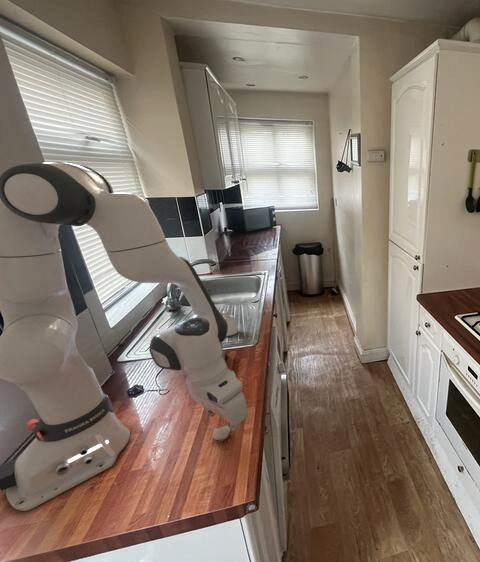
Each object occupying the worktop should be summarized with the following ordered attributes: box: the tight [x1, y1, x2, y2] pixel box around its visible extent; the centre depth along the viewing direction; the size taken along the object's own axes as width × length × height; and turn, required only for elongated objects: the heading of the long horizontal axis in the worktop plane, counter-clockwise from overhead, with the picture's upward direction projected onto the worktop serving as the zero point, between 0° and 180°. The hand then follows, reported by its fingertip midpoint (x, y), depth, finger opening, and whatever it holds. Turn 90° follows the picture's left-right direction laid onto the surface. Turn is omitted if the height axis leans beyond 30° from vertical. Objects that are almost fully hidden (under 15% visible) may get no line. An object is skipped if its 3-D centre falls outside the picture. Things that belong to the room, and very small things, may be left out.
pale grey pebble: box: [212, 425, 232, 443], centre depth 81 cm, size 4×5×2 cm
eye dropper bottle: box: [221, 307, 238, 337], centre depth 128 cm, size 4×6×12 cm
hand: (223, 420), depth 82 cm, fingers open, 8 cm apart
